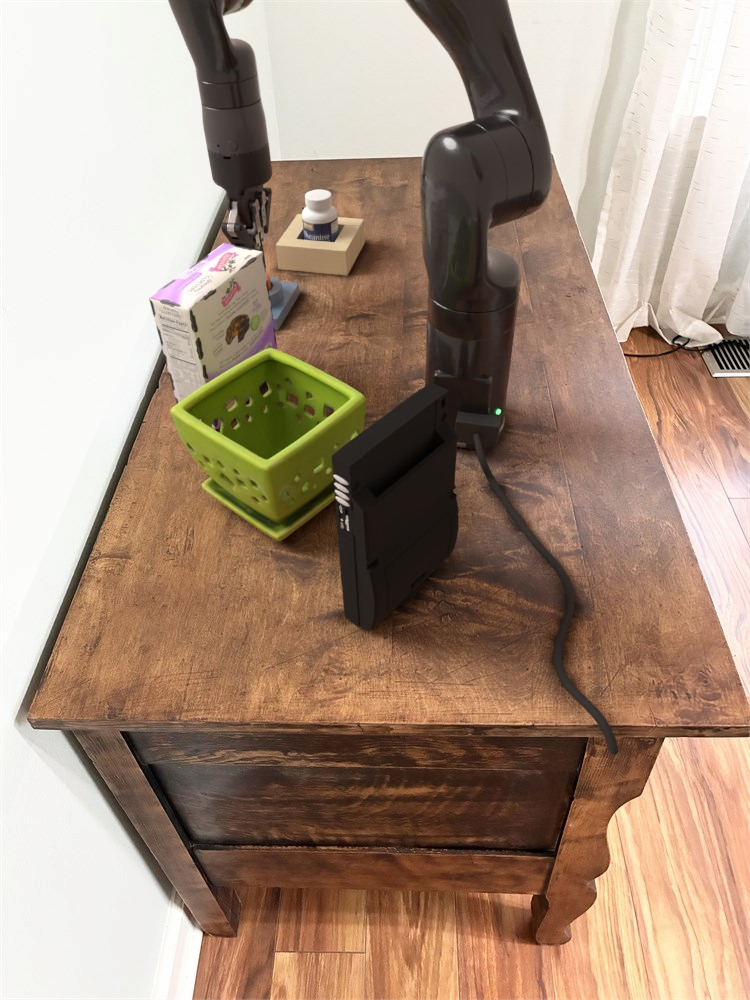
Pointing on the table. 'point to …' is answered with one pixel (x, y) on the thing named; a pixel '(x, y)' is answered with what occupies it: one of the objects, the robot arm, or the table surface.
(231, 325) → the candy box
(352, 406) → the flower pot
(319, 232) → the pill bottle
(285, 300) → the switch block
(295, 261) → the dock
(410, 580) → the black electronic device
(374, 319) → the table surface
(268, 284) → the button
